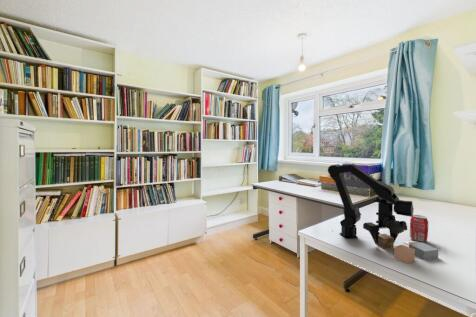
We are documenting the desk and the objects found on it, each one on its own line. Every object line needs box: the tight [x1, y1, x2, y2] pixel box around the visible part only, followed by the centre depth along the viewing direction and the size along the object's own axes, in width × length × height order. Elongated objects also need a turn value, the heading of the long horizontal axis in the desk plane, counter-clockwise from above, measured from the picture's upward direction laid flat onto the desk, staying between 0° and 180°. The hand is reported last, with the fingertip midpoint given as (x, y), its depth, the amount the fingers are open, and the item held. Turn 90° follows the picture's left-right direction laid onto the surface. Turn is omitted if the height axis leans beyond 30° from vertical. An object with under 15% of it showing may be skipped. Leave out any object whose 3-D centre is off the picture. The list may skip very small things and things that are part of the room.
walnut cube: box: [377, 233, 395, 250], centre depth 104 cm, size 5×5×5 cm
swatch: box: [403, 240, 420, 246], centre depth 104 cm, size 7×7×1 cm
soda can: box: [409, 214, 429, 243], centre depth 109 cm, size 7×7×12 cm
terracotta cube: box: [393, 244, 416, 264], centre depth 92 cm, size 5×5×5 cm
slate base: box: [408, 242, 439, 261], centre depth 95 cm, size 7×7×4 cm
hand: (384, 243), depth 104 cm, fingers open, 8 cm apart
